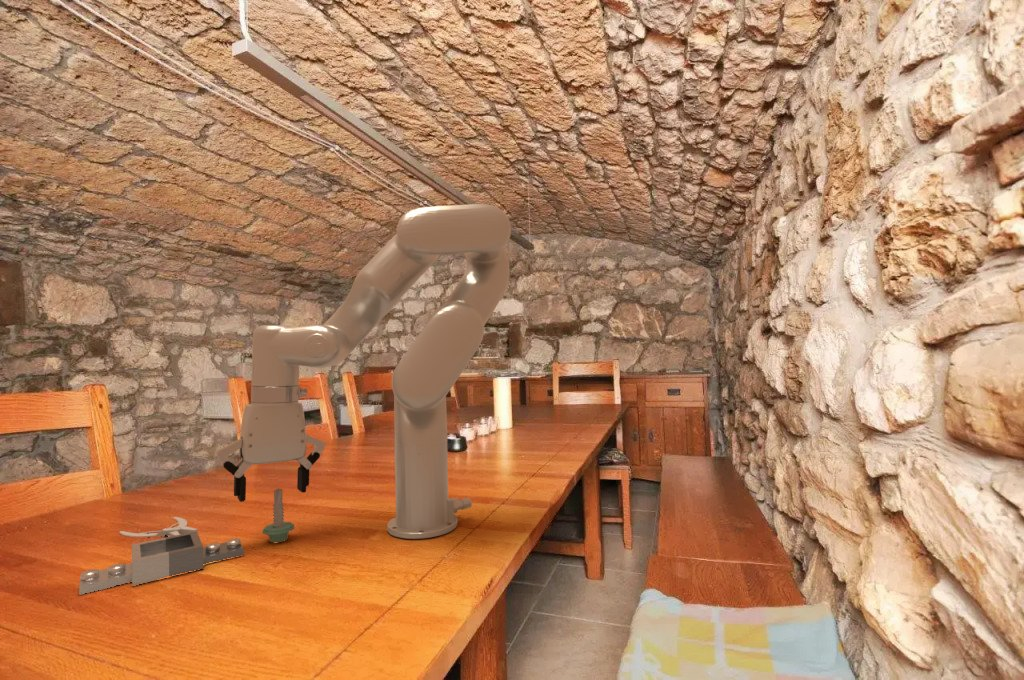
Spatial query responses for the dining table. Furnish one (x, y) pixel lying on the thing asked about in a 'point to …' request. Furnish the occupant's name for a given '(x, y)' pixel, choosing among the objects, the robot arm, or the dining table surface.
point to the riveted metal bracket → (160, 561)
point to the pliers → (165, 530)
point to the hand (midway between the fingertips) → (272, 495)
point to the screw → (278, 521)
